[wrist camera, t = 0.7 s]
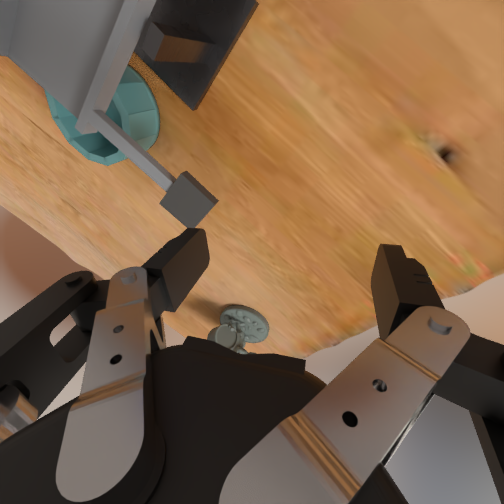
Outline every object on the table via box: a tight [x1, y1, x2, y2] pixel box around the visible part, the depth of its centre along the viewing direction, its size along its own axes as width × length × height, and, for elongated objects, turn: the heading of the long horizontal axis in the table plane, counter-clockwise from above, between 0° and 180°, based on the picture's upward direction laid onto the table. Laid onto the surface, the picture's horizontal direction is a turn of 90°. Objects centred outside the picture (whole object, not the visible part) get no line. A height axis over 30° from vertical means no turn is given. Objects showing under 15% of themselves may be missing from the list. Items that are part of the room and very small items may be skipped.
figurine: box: [207, 305, 269, 354], centre depth 48 cm, size 11×11×12 cm
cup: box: [44, 64, 160, 166], centre depth 31 cm, size 11×11×6 cm
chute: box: [0, 0, 218, 228], centre depth 20 cm, size 21×22×5 cm
